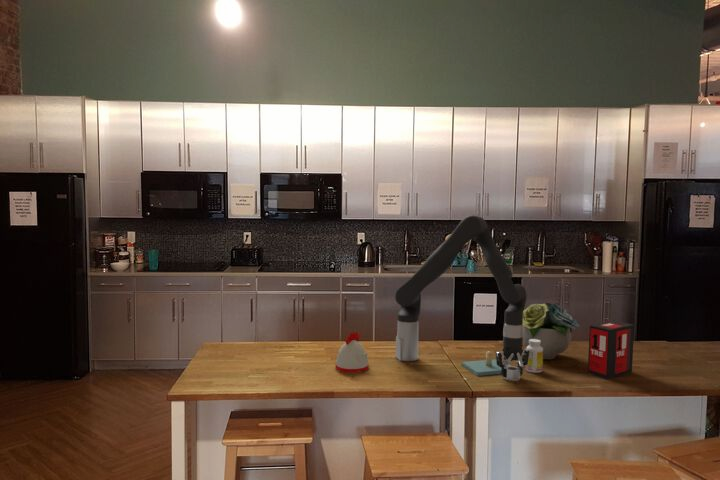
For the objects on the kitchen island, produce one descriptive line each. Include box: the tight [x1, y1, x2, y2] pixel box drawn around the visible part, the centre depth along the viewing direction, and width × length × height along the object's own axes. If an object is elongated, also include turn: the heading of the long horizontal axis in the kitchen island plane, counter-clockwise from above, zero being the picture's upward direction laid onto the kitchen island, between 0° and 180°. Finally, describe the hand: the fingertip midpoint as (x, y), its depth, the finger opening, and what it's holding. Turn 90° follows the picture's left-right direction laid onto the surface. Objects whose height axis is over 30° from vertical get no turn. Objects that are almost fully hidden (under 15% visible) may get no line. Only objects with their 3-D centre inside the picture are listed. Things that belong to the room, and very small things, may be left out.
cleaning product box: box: [587, 320, 635, 380], centre depth 220 cm, size 16×9×20 cm, turn 122°
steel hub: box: [502, 365, 521, 382], centre depth 213 cm, size 6×6×4 cm
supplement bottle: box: [525, 339, 544, 374], centre depth 222 cm, size 7×7×13 cm
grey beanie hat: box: [335, 331, 370, 373], centre depth 225 cm, size 14×14×15 cm
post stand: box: [461, 350, 512, 377], centre depth 224 cm, size 18×14×8 cm
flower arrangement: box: [523, 302, 580, 360], centre depth 241 cm, size 25×25×24 cm
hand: (511, 376), depth 213 cm, fingers closed on steel hub, 6 cm apart
